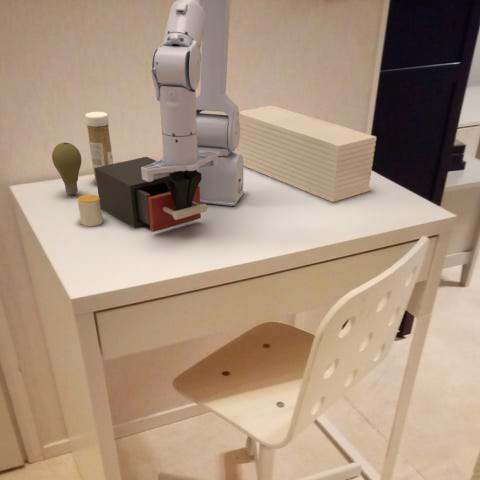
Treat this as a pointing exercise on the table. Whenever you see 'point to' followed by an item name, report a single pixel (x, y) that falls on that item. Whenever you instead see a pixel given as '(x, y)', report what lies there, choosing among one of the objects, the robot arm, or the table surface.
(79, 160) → the light bulb
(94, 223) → the beige cylinder
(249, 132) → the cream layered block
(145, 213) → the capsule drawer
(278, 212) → the table surface
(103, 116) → the spice jar
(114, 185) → the black drawer box
